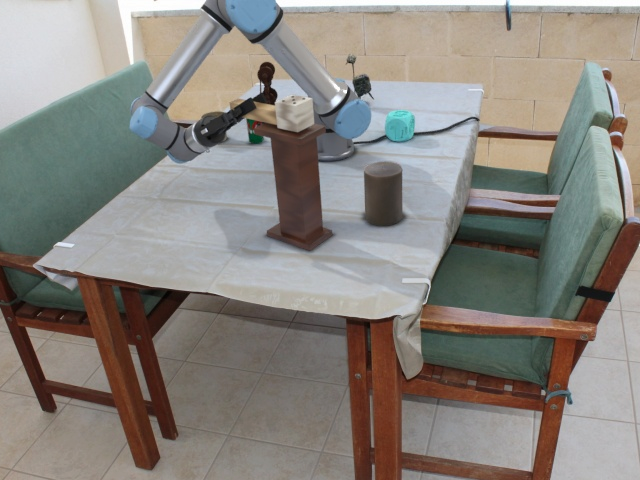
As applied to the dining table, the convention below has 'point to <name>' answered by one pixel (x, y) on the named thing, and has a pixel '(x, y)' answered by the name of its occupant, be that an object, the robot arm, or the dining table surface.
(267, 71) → the dark brown sculpture
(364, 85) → the plant with pod
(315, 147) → the plant stand
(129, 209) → the dining table surface
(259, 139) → the soda can
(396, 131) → the decorative dice
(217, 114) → the flower pot
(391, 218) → the pillar candle
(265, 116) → the die stick
